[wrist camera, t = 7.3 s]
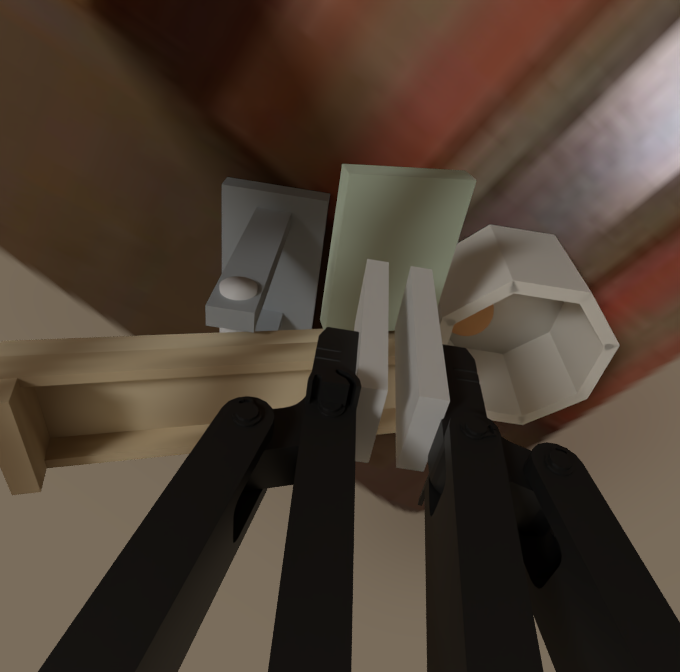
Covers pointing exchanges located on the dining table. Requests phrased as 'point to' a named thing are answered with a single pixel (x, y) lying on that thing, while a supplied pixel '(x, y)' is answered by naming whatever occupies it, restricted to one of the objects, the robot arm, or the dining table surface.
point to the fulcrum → (268, 257)
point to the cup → (526, 323)
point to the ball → (474, 322)
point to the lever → (220, 343)
